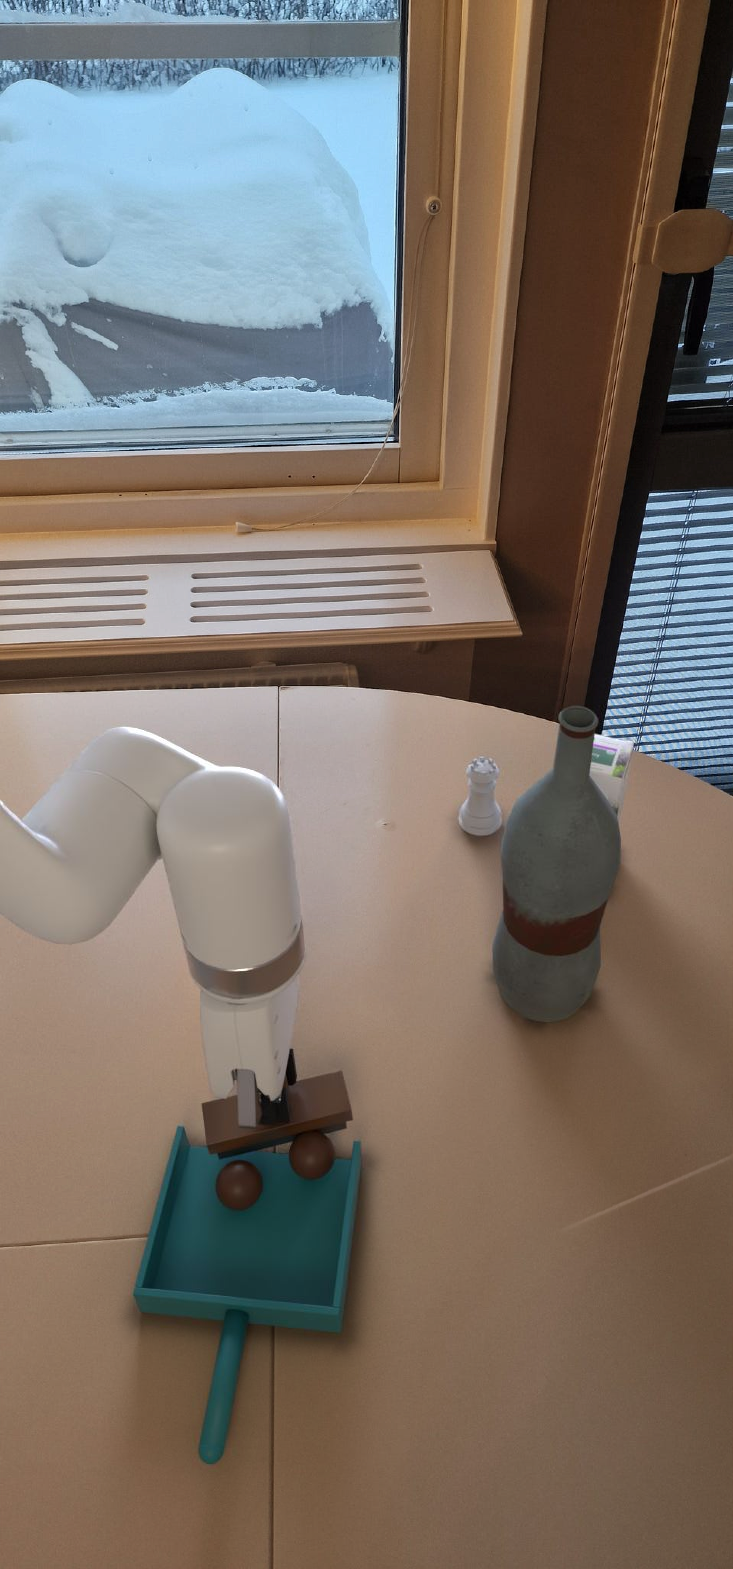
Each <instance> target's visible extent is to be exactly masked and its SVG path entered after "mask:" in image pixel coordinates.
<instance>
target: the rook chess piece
mask: <svg viewBox="0 0 733 1569" xmlns="http://www.w3.org/2000/svg"><path fill="white" fill-rule="evenodd" d="M485 757H486V756H483V755H482V756H479V759H477V757H474V758H473V759H472V760H471V763H469V765H468V766H467V768H466V770H465V771H466V772H465V774H466V776H467V777H468V781H467V786H468V788H469V791H468V794H467V798H466V799H465V801H464V802H463V803H462V805H461V807H460V809H459V810H458V811H459V812H458V813H459V815H458V818H457V819H458V825H459V827H461V829H462V830H463V831H464V832H466V833H468V834H469V835H472V836H476V837H486V836H489V835H492V834H493V833H494V834H495V832H496V831H498V830H499V829H500V827H501V825H502V823H503V821H502V820H503V819H502V810H501V807H500V806H499V804H498V802H497V800H496V798H495V789H496V787H497V781H496V780H497V779H498V778H499V776H500V769H499V768H498V767H497V763H496V762H494V759H493V758H491V757H488V758H487V759H486V758H485Z"/></svg>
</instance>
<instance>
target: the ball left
mask: <svg viewBox="0 0 733 1569" xmlns="http://www.w3.org/2000/svg"><path fill="white" fill-rule="evenodd" d="M215 1190H216V1194H217V1197H218V1199H219V1201H220V1202H221V1203H222V1204H223V1205H224V1206H225V1207H227V1208H228V1209H231V1210H235V1211H242V1210H246V1209H248V1208H250V1207H252V1206H253V1205H254V1204H255V1203H256V1202H257V1201H258V1199H259V1198H260V1196H261V1193H262V1190H263V1179H262V1176H261V1173H260V1171H259V1170H258V1168H257V1167H256V1166H255V1165H254V1164H252V1163H251V1162H248V1161H245V1160H235V1161H232V1162H230V1163H228V1164H226V1165H225V1166H224V1167H223V1168H222V1169H221V1170H220V1172H219V1174H218V1176H217V1179H216V1183H215Z"/></svg>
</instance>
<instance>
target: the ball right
mask: <svg viewBox="0 0 733 1569" xmlns="http://www.w3.org/2000/svg"><path fill="white" fill-rule="evenodd" d="M288 1155H289V1163H290V1166H291V1168H292V1169H293V1171H294V1172H295V1173H296V1174H297V1175H298V1176H299V1177H301V1178H303V1179H306V1180H316V1179H319V1178H322V1177H323V1176H325V1175H326V1174H327V1173H328V1172H329V1171H330V1170H331V1168H332V1166H333V1164H334V1160H335V1159H336V1149H335V1147H334V1144H333V1142H332V1140H331V1139H330V1138H329V1136H327V1134H323V1133H321V1132H318V1131H307V1132H304V1133H302V1134H300V1135H299V1136H297V1137H296V1138H295V1139H294V1141H293V1142H291V1143H290V1146H289V1150H288Z"/></svg>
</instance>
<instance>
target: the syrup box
mask: <svg viewBox="0 0 733 1569" xmlns="http://www.w3.org/2000/svg"><path fill="white" fill-rule="evenodd" d="M634 748H635V740H623V739H618V738H614V737H612V736H607V735H603V734H598V733H595V735H594V743H593V751H592V758H591V766H590V774H589V775H590V776H591V778H592V779H593V780H594V782H595V783H596V785H597V786H598V787H599V789H600V790H601V791H602V793H603V794H604V796H605V797H606V798H607V800H608V801H609V803H610V804H611V806H612V807H613V809H614V811H615V812H616V814H617V818H618V823H619V824H620V823H621V817H622V812H623V806H624V801H625V795H626V791H627V790H626V789H627V784H628V779H629V772H630V769H631V762H632V758H633V757H632V756H633V752H634Z"/></svg>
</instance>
